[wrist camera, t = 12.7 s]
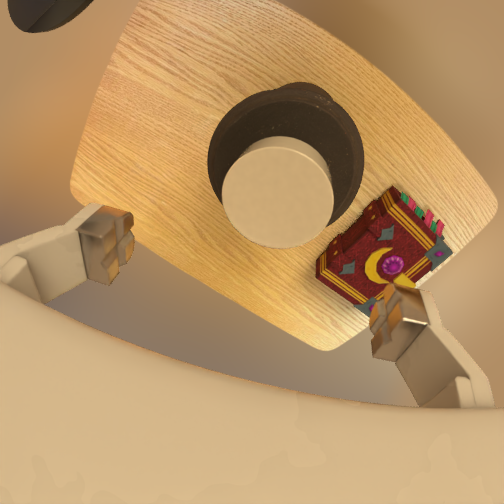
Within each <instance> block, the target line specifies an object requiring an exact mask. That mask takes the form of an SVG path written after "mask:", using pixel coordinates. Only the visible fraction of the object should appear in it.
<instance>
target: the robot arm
mask: <svg viewBox="0 0 504 504" xmlns="http://www.w3.org/2000/svg"><path fill="white" fill-rule="evenodd" d="M133 225H134V220H133V215H132V214H131V212H127V211H124V210H120V209H116V208H113V207H109V206H105V205H102V204H98V203H89V204H88V205H87V206H86V207H84V208H83V209H82V210H81V211H80V212H78V213H77V214H76V215H75V216H74V217H72V218H71V219H70V220H69V221H68V222H67V223H66V224H64V225H63V226H60V225H58V226H55V227H52V228H49V229H46V230H43V231H40V232H37V233H34V234H31V235H28V236H25V237H23V238H20V239H17V240H14V241H11V242H9V243H6V244H3V245H1V246H0V504H504V408H495V404H494V400H493V395H492V392H491V388H490V384H489V380H488V378H487V376H486V375H485V374H484V372H483V371H482V370H481V369H480V367H479V366H478V365H477V364H476V363H475V361H474V360H473V359H472V358H471V356H470V355H469V354H468V353H467V352H466V351H465V349H464V348H463V347H462V346H461V345H460V343H459V342H458V341H457V340H456V339H455V338H454V337H453V335H452V334H451V333H450V332H449V331H448V330H447V329H444V328H443V324H442V321H441V318H440V315H439V312H438V309H437V306H436V304H435V301H434V298H433V295H432V294H431V293H430V292H429V291H425V290H421V289H415V288H411V287H408V286H404V285H400V284H396V283H392V282H390V283H389V284H387V285H386V287H385V289H384V290H383V295H384V298H382V299H380V300H378V301H377V302H376V303H375V305H374V307H373V309H372V312H371V315H370V321H369V326H370V330H371V332H372V333H373V334H374V337H373V339H372V340H371V345H372V355H373V358H377V359H382V360H387V361H392V362H396V363H395V364H396V366H397V368H398V369H399V371H400V373H401V375H402V376H403V378H404V380H405V382H406V383H407V385H408V387H409V389H410V391H411V392H412V394H413V396H414V398H415V400H416V402H417V403H418V405H419V407H408V406H397V405H386V404H376V403H368V402H360V401H353V400H346V399H339V398H332V397H326V396H320V395H315V394H309V393H304V392H299V391H293V390H289V389H284V388H279V387H275V386H270V385H266V384H262V383H258V382H253V381H249V380H245V379H242V378H238V377H234V376H230V375H227V374H223V373H219V372H216V371H212V370H209V369H206V368H202V367H199V366H196V365H192V364H189V363H186V362H183V361H180V360H177V359H174V358H171V357H168V356H165V355H162V354H159V353H156V352H154V351H151V350H148V349H145V348H143V347H140V346H137V345H134V344H132V343H129V342H127V341H124V340H122V339H119V338H117V337H114V336H112V335H109V334H107V333H104V332H102V331H100V330H97V329H95V328H93V327H91V326H88V325H86V324H84V323H81V322H79V321H77V320H75V319H73V318H71V317H68V316H66V315H64V314H62V313H60V312H58V311H56V310H54V309H52V308H50V307H48V306H46V305H44V304H46V303H48V302H49V301H51V300H53V299H54V298H56V297H58V296H60V295H61V294H63V293H65V292H67V291H68V290H70V289H72V288H74V287H76V286H78V285H79V284H81V283H83V282H85V281H87V279H90V280H93V281H96V282H99V283H102V284H105V285H108V286H110V284H111V283H112V282H113V280H114V279H115V278H116V277H117V275H118V274H119V267H120V266H122V265H125V264H127V262H128V261H129V259H130V258H131V256H132V253H133V250H134V243H135V240H134V235H133V234H132V232H131V230H130V229H131V228H132V227H133Z"/></svg>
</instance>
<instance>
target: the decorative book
mask: <svg viewBox="0 0 504 504" xmlns="http://www.w3.org/2000/svg"><path fill="white" fill-rule="evenodd" d="M415 207H416V203H415V201H414V200H413V199H412V198H411V197H410V196H409V198H408V197H407V196H406V195H405V194H404V193H403V192H402V194H401V193H400V192H399V191H398V190H397V189H396V188H395V187H394V186H393V185H392V186H391V188H390V189H389V190H388V191H387V192H386V193H385V194H384V195H383V196H382V197H381V198H380V199H379V200H378V201H377V202H376V201H375V200H373V201H372V202H371V203H370V204H369V205H368V206H367V207H366V208H365V209H364V210H363V212H364V215H363V216H362V217H361V218H360V219H359V220H358V221H357V222H356V223H355V224H354V225H353V226H351V227H350V228H349V229H348V230H347V231H346V232H345V233H344V234H343V235H342V236H341V235H340V234H339V235H338V236H337V237H336V238H335V239H334V240H333V241H332V242H331V243H330V244H329V249H328V250H327V251H325V252H324V253H323V254H322V255H321V256H320V257H319V258H318V259H317V260H316V278H317V279H318V280H320V281H321V282H322V283H324V284H325V285H327V286H328V287H330V288H331V289H332V290H334V291H335V292H337V293H338V294H340V295H341V296H343V297H344V298H345V299H347V300H348V301H350V302H351V303H352V304H353V305H354V307H356V308H357V309H358V310H360V311H361V312H363V313H364V314H365V315H367V316H368V317H369V318H370V315H371V312H372V309H373V307H374V305H375V303H376V302H377V301H378V300H380V299H382V298H384V295H383V290H384V289H385V287H386V285H387V284H389V283H390V282H392V283H396V284H400V285H404V286H408V287H411V288H414V287H415V286H416V284H415V283H416V282H417V281H418V280H419V279H420V278H422V277H423V276H424V275H425V274H427V273H428V272H429V271H430V270H431V271H433V270H434V269H435V268H436V267H437V266H439V265H440V264H441V263H442V262H443V261H445V260H446V259H447V258H448V257H449V256H450V255H452V254H453V252H452V250H451V249H450V248H449V247H448V246H447V245H446V243H445V242H444V241H443V240H444V239H445V238H444V236H443V235H442V230H443V228H444V226H445V225H444V224H443V223H442V222H441V220H440V219H439V221H438V224H436V223H435V222H434V221H433V217H434V215H433V213H432V212H431V211H430V210H429V209H428V211H427V213H426V216H425V217H424V216H423V213H424V212H423V211H422V210H421V209H420V208H419V207H418V206H417V208H415Z"/></svg>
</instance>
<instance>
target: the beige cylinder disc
mask: <svg viewBox="0 0 504 504" xmlns="http://www.w3.org/2000/svg"><path fill="white" fill-rule="evenodd" d="M222 202H223V207H224V210H225V213H226V215H227V217H228V219H229V221H230V222H231V224H232V225H233V226H234V228H235V229H236V230H237V231H238V232H239V233H240V234H241V235H243V236H244V237H245V238H247V239H248V240H250V241H252V242H254V243H256V244H258V245H261V246H264V247H268V248H275V249H288V248H294V247H298V246H301V245H304V244H306V243H308V242H310V241H311V240H313V239H314V238H316V237H317V236H318V235H319V234H320V233H321V232H322V231H323V230H324V228H325V227H326V225H327V224H328V222H329V220H330V218H331V215H332V211H333V205H334V195H333V187H332V179H331V174H330V171H329V168H328V166H327V164H326V162H325V160H324V159H323V157H322V156H321V155H320V154H319V153H318V152H317V151H316V150H315V149H314V148H313V147H311V146H310V145H308V144H307V143H305V142H303V141H301V140H298V139H295V138H291V137H283V136H276V137H269V138H265V139H262V140H259V141H257V142H255V143H253V144H252V145H250V146H249V147H248V148H247V149H246V150H245V151H244V152H243V153H242V154H241V155H240V157H239V158H238V159H237V160H236V161H235V163H234V164H233V165H232V167H231V168H230V169H229V171H228V173H227V174H226V177H225V179H224V182H223V187H222Z"/></svg>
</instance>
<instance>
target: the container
mask: <svg viewBox="0 0 504 504" xmlns="http://www.w3.org/2000/svg"><path fill="white" fill-rule="evenodd" d="M276 136H283V137H291V138H295V139H298V140H301V141H303V142H305V143H307V144H308V145H310V146H311V147H313V148H314V149H315V150H316V151H317V152H318V153H319V154H320V155H321V156H322V157H323V159H324V160H325V162H326V164H327V166H328V168H329V171H330V174H331V179H332V187H333V195H334V205H333V211H332V215H331V218H330V220H329V222H328V224H327V225H326V227H327V226H329V225H331V224H332V223H333V222H335V221H336V220H337V219H338V218H339V217H340V216H341V215H342V214H344V213H345V211H346V210H347V209H348V208H349V206H350V205H351V203H352V202H353V200H354V198H355V196H356V194H357V192H358V189H359V187H360V184H361V180H362V175H363V171H364V150H363V144H362V140H361V137H360V134H359V132H358V129H357V127H356V125H355V123H354V121H353V120H352V118H351V117H350V116H349V114H348V113H347V112H346V111H345V110H344V109H343V108H342V107H341V106H340V105H339V104H337V103H336V102H335V101H334V100H333V99H332V98H331V96H330V95H329V94H328V93H327V92H326V91H325V90H323V89H322V88H320V87H318V86H316V85H314V84H310V83H306V82H295V83H290V84H287V85H284V86H282V87H280V88H278V89H274V90H267V91H262V92H259V93H256V94H254V95H251V96H249V97H248V98H246V99H244V100H243V101H241V102H240V103H238V104H237V105H236V106H234V107H233V108H232V109H231V110H230V111H229V112H228V113H227V114H226V115H225V116H224V117H223V119H222V120H221V121H220V123H219V124H218V126H217V128H216V130H215V132H214V134H213V136H212V139H211V142H210V146H209V150H208V161H207V162H208V174H209V179H210V182H211V185H212V188H213V190H214V192H215V194H216V196H217V197H218V199H219V201H220V202H221V204H222V205H223V202H222V187H223V182H224V179H225V177H226V174H227V173H228V171H229V169H230V168H231V167H232V165H233V164H234V163H235V161H236V160H237V159H238V158H239V157H240V155H241V154H242V153H243V152H244V151H245V150H246V149H247V148H248V147H249V146H250V145H252V144H253V143H255V142H257V141H259V140H262V139H265V138H269V137H276ZM326 227H325V228H326Z"/></svg>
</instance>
